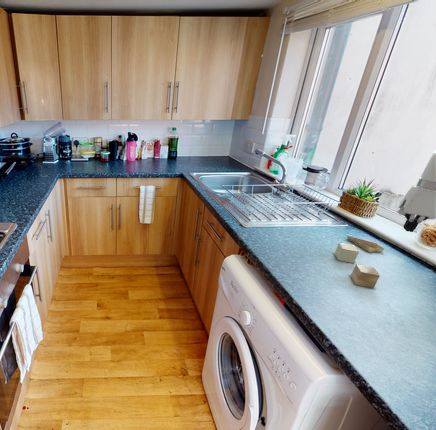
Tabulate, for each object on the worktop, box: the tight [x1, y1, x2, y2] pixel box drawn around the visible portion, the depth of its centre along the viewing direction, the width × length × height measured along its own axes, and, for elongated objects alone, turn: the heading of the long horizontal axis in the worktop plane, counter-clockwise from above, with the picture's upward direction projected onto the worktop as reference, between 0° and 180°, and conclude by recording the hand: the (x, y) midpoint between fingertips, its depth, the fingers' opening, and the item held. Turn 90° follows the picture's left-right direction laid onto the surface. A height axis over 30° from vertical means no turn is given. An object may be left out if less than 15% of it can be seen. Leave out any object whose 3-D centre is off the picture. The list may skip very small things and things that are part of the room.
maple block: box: [350, 263, 381, 289], centre depth 95 cm, size 5×5×5 cm
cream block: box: [334, 242, 360, 264], centre depth 108 cm, size 5×5×5 cm
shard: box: [346, 235, 385, 253], centre depth 118 cm, size 11×8×2 cm
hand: (407, 230), depth 109 cm, fingers closed
